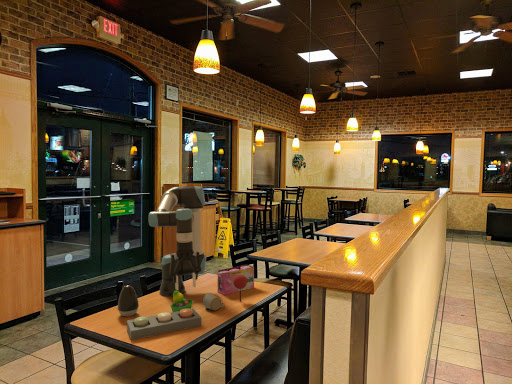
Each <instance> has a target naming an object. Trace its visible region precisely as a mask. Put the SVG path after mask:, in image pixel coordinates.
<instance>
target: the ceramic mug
mask: <svg viewBox="0 0 512 384" xmlns="http://www.w3.org/2000/svg"><path fill="white" fill-rule="evenodd" d="M202 304H203V306H204V307H205V308H207V309H208V310H211V311H216V312H217V311H218V310H220V309H221V308H224V307H225V303H223V302H222V300H221V298H220V297H218V296H217V295H215V294H214V293H212V292H209V293H207V294H205V295H204V296H203V299H202Z"/></svg>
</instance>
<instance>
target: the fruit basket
mask: <svg viewBox="0 0 512 384" xmlns="http://www.w3.org/2000/svg"><path fill="white" fill-rule="evenodd" d="M172 300H173V303H172V304H171V305H170V308H171V311H172V312H177V311H180V310H182V309H192V306H193V303H194V300H193V299H189V298H187V299H186V298H184V294H183V293H182V294H181V293H180V292H179V291H174V293H173V296H172ZM172 312H171V313H172Z"/></svg>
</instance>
